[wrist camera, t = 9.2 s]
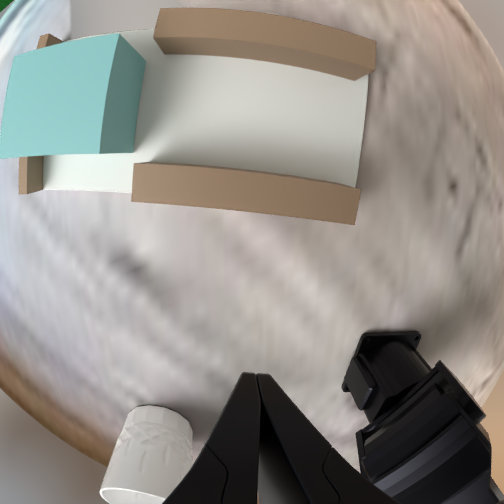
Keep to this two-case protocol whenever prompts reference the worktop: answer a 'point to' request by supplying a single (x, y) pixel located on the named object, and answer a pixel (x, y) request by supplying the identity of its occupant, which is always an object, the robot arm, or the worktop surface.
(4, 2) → the milk carton
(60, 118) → the block
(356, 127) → the chute
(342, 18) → the worktop surface
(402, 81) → the worktop surface
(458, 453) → the robot arm
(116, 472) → the white cup
